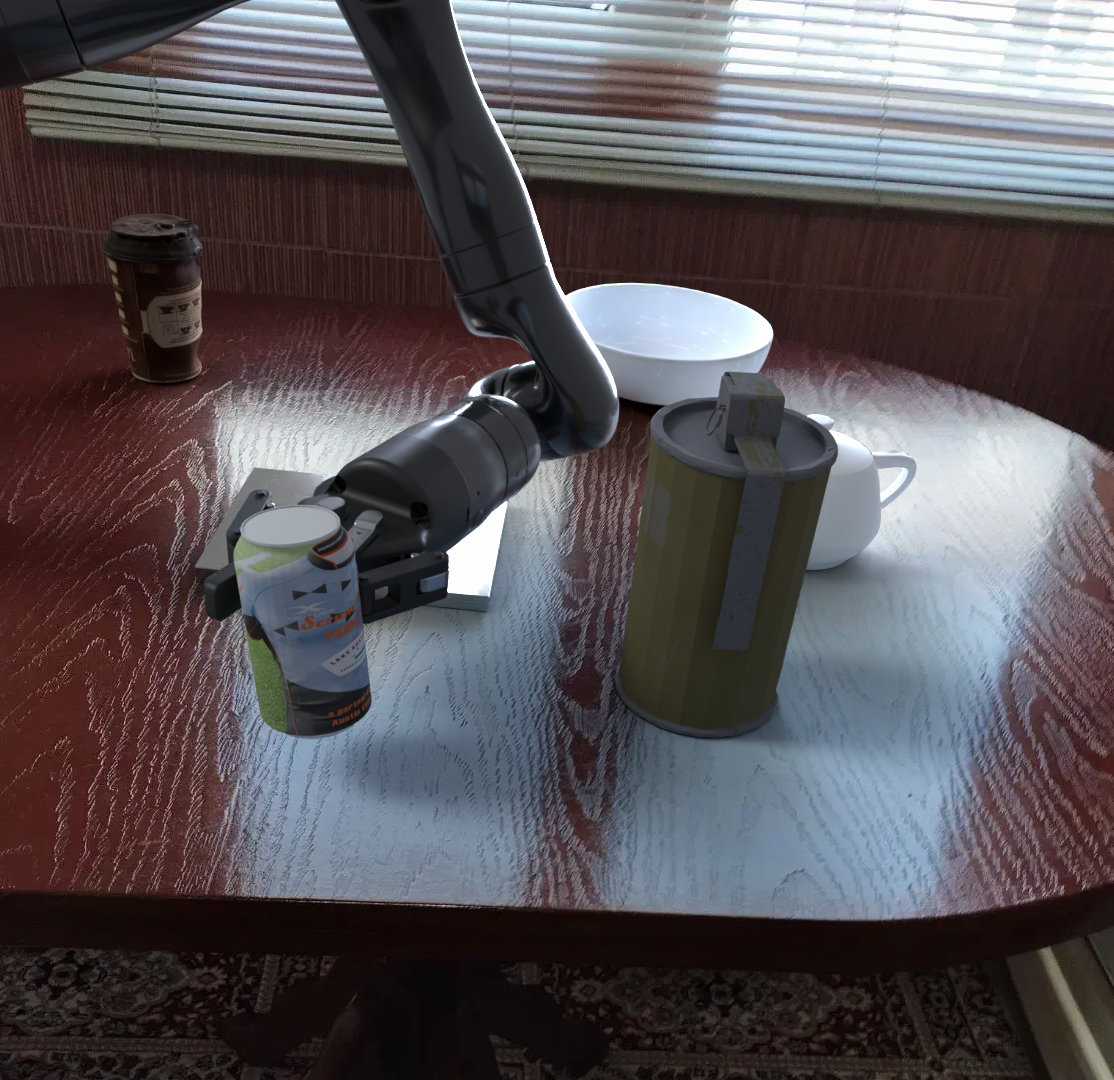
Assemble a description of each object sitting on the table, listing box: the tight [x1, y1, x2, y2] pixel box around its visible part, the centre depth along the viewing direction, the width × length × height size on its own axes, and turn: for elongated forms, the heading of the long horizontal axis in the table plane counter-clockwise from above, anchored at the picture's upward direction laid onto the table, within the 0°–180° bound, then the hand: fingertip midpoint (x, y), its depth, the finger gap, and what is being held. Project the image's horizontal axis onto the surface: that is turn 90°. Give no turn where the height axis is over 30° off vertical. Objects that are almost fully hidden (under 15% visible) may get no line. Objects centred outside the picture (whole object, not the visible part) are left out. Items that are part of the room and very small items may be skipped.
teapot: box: [806, 413, 917, 571], centre depth 91 cm, size 20×12×10 cm, turn 108°
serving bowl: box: [565, 282, 774, 406], centre depth 116 cm, size 21×21×7 cm
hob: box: [194, 467, 509, 613], centre depth 88 cm, size 20×18×2 cm
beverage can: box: [234, 505, 373, 740], centre depth 63 cm, size 6×7×12 cm
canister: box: [614, 371, 838, 739], centre depth 71 cm, size 11×10×20 cm
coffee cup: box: [101, 213, 204, 384], centre depth 107 cm, size 9×8×13 cm
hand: (241, 614), depth 61 cm, fingers closed on beverage can, 3 cm apart
